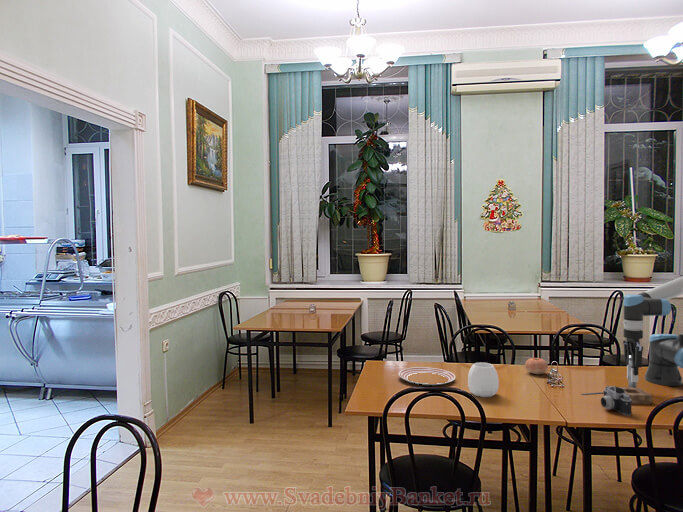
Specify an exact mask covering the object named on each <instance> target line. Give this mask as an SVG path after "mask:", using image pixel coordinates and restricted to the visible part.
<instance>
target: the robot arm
mask: <svg viewBox="0 0 683 512" xmlns="http://www.w3.org/2000/svg"><path fill="white" fill-rule="evenodd" d="M681 295H683V275H682V276H679V277H677V278H675V279H672V280H670V281H667V282H665V283H662V284H660V285H657V286H655V287H652V288H650V289H649V290H646V291H643V292H641V293H638V294H634V293H633V294H631V293H630V294H625V295H624V297H623V322H622V324H623V328H624V329H623V338H625V339H626V340H622V341H623V357H624V358H623V360H624V361H623V362H624V363H626V380H628V377H629V355H632V366H631V382H637V383H639V369H640V368H642V365H643V364H642V363H643V351H644V346H641V343H640V340H642V339H643V338H644V336H643V335H644V331H643V329H644V317H649V316H650V317H653V316H659V317H662V316H663V317H664V316H668V315H670V313H671V312H672V304H671V302H670V301H669V300H672V299H674V298H676V297H679V296H681ZM648 343H649V350H648V351H649V358H648V359H649V360H648V361H649V363H648V366H647V369H646V372H645V374H644V380H645V381H646V382H648V383H651V384H655V385H659V386H660V385H661V386H667V387H680V386H682V385H683V378H682V375H681V372H680V370H679V368H680V369H683V332H681V333H679V335H678V334H674V333H671V334H670V333H654V334H650V336H649V341H648Z"/></svg>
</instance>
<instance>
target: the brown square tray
mask: <svg viewBox="0 0 683 512" xmlns="http://www.w3.org/2000/svg"><path fill="white" fill-rule="evenodd" d="M618 387H619V386H618ZM619 388H622V389H624V391H625V393H626V395H629V398H630V399H631V404H633V405H634V404H637V405H639V404H641V405H646V404H647V405H648V404H649V405H652V404H653V395H652V394H650V393H649V392H647V391H645V390H643V389H642V388H640V387H638V386H637V387H627V386H626V387H625V386H623V387H622V386H621V387H619Z"/></svg>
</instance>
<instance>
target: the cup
mask: <svg viewBox="0 0 683 512" xmlns="http://www.w3.org/2000/svg"><path fill="white" fill-rule="evenodd" d="M467 376H468V377H467V386H468V389H469V392H470V393H471V394H472V395H474V396H476V397H479V396H480V398H491V397H493V396H494V395H496V394H497V393H498V390H499V384H500V383H499V382H500V381H499V375H498V372H497V370H496V368H495V366H494V364H491V363H490V362H489V363H488V362H475V363H473V364H472V365H471V367H470V369H469V371H468V375H467Z"/></svg>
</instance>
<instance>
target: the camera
mask: <svg viewBox="0 0 683 512" xmlns="http://www.w3.org/2000/svg"><path fill="white" fill-rule="evenodd" d="M602 392H603V393H602V394H603V396H602V397H601V398H600V404H601V406H602V408H605V410H614V411H616V412H618V413H620V414H621V415H623V416H631V415H632V403H631V399H630V398H629V395H626V393H625V391H624V389H622V388H619V386H614V385H612V386H611V385H606V386H605V388H604V389H603V391H602Z"/></svg>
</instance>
